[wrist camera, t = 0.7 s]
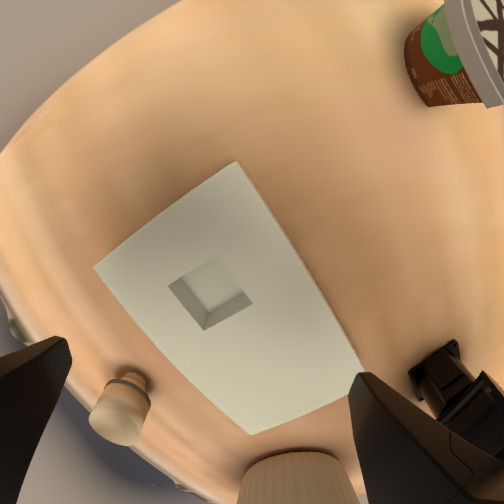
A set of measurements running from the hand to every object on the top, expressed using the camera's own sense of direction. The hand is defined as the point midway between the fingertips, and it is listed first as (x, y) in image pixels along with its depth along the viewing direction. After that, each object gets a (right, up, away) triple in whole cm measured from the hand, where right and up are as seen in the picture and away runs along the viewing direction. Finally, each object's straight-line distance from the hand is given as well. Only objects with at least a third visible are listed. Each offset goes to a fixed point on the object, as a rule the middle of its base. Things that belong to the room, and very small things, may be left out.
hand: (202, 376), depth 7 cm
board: (+1, -1, +15) cm, 15 cm away
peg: (-10, -9, +18) cm, 23 cm away
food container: (+16, +20, +8) cm, 27 cm away
